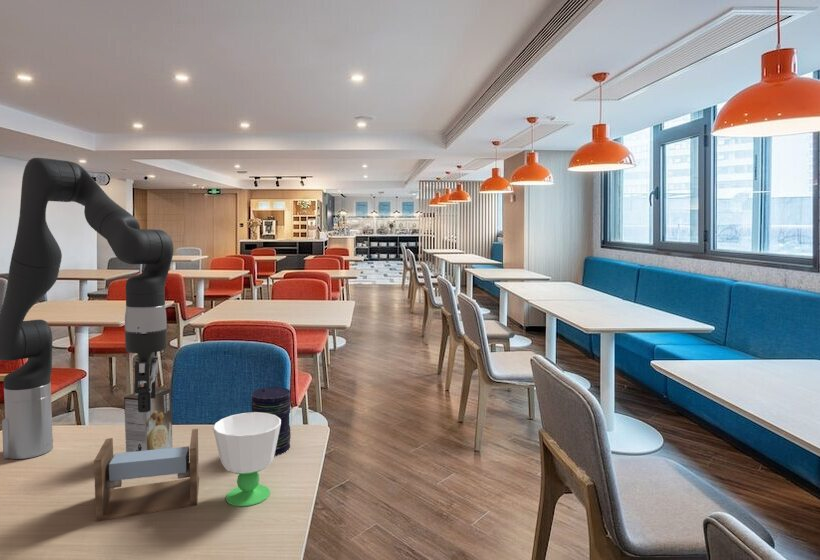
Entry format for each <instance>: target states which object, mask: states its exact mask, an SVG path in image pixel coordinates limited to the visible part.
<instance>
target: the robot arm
mask: <svg viewBox="0 0 820 560" xmlns="http://www.w3.org/2000/svg"><path fill="white" fill-rule="evenodd" d="M20 189H21V190H20V191H21V192H20V206H19V207H20V208H19V217H18V225H17V231H16V235H15V240H14V246H13V248H12V249H13V250H12V253H11V257H10V258H11V259H10V263H9V270H8V276H7V283H6V289H5V294H4V298H3V302H2V305H1V308H0V361H2V362H3V361H4V362H10V361H17V360H25V359H27V360H26V361H25V363H24V364H23V365H21V366H20V367H19V368H18V367H17V369H15V370H13V371H12V372H11V371H10V372H9V373H8V374H6V375H5V376H4V378H3V394H4V396H3V397H4V415H5V417H4V418H3V419H2V420H1V431H2V433H1V435H2V436H1V437H2V453H3V460H4V459H11V460H24V459H29V458H30V459H31V458H35V457H38V456H41V455H44V454H46V453H48V452H50V451H52V450H53V448H54V438H53V437H54V436H53V434H54V433H53V432H54V431H53V414H52V411H53V410H52V409H53V408H52V407H53V406H52V387H51V386H52V385H51V384H52V382H51V375H52V371H53V332H52V329H51V326H50V324H49V323H48V322H47V321H46V320H44V319H32V320H31V319H30V320H25V318H26V316H27V314H28V313H29V311H30V310H31V308H32V307H34V305H36V304H37V302H39V301H40V300H41V299H42V297H44V296H45V295H46V294H47V293H48V292H49V291H50V290H51V288H52V287H53V286H54V285H55V283H56V281H57V280H58V276H59V273H60V267H61V264H62V263H61V262H62V259H63V258H62V257H63V253H62V249H61V247H60V246H59V244H58V243H59V242H58V241H57V240H56V238H55V236H54V235H53V232H51V229H50V228H49V226H48V223H47V218H46V217H47V215H46V214H47V206H48V203H49V202H58V203H59V202H62V203H69V202H71V203H72V202H74V203H77V204H79V205H81V206H83V207H84V218H85V220H86V223H87V224H88V225H89V227H90V228H91V229H93V230H94V231H95V232H96V233H98V234H99V235H100V236H102V237H103V238H104V239H105V240H106V241H107V244H108V245H109V246H110V248H111V250H112V252H113V254H114V255H115V258H116V259H118V260H119V261H121V262H123V263H124V264H127V265H145V266H144V268H143V271H142V272H141V273H140V274H138V275H135V276H131V277H129V278H128V279H127V280H126V282H125V313H124V340H125V341H124V346H125V347H124V348H125V349H124V350H125V351H126V352H127V353H130V354H137V355H138V357H136V360H135V361H134V365H133V367H134V391H133V392H134V393H135V394H138V412H149V411H150V410H151V399H152V398H155V396H156V387H157V382H156V381H157V379H158V374H159V357H158V353H159V352H163V351H164V350H167V347H168V345H167V344H168V343H167V342H168V339H167V338H168V337H167V336H168V332H167V323H168V322H167V310H166V296H165V294H166V291H165V286H166V281H167V280H168V279H167V278H168V274H169V272H170V268H171V267H170V266H171V264H172V261H173V256H174V243H173V240H172V238H171V236H170V235H169V234H168V233H167V232H166V231H164V230H161V229H153V228H152V229H148V228H141V225H140V223H139V221H138V219H137V218H136V217H135V216H134V215H133V214H131V213H130V212H128V211H127V210H126V209H124V207H122V206H121V205H119V204H118V203H116V202H115V201H114V200H113V199H112V198H110V196H109V195H108V194H107V193H106V192H105V191H104V190H103V189H102V187H101V186H100V185H99V184H98V183H97V182H96V180H95V179H94V178H93V177H92V176H91V175H90V173H89V172H88V171H87V170H86V169H85V168H84V167H83V166H81V165H80V164H79V163H77V162H74V161H70V160H63V159H62V160H61V159H53V158H47V157H33V158H30V159H29V160H28V162H26V165H25V166H24V170H23V173H22V181H21V188H20ZM142 384H143V386H141V385H142Z"/></svg>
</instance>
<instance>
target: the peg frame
mask: <svg viewBox="0 0 820 560" xmlns="http://www.w3.org/2000/svg"><path fill="white" fill-rule="evenodd" d="M190 435H191V436H190V441H189V443H190V444H189V465H188V468H187V472H186V473H179V474H177V479H174V480H169V481H160V482H155V483H154V482H153V483H146V484H142V485H141V484H139V485H132V486H126V487H122V481H123V480H116V481H109V463H110V462H111V460H112V459H113V457H114V442H113V441H114V440H113V439H114V438H113V437H111V438H110V437H109V438H106V439H104V442H103V444H102V445H101V447H100V449H99V451H98V453H97V455H96V456H95V459H93V469H94V471H93V472H94V499H95V500H94V501H95V516H94V517H95V519H94V520H95V522H99V521H104V520H111V519H118V518H125V517H130V516H134V515H135V516H136V515H142V514H149V513H155V512H160V511H166V510H174V509H179V508H185V507H186V508H187V507H191V506H198V503H199V502H198V499H199V487H200V475H199V470H200V469H199V428H193V429H191V433H190Z"/></svg>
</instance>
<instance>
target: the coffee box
mask: <svg viewBox="0 0 820 560" xmlns="http://www.w3.org/2000/svg"><path fill="white" fill-rule="evenodd" d="M123 403H124V431H125V432H124V434H125V452H135V451H146V450H156V449H166V448H173V423H172V421H173V419H172V414H173V413H172V388H171V387H158V386H156V396H155V398H152V399H151V410H150V411H149V412H138V394H135V392H134V393H131V394H129V395H126V396H123Z"/></svg>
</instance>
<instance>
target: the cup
mask: <svg viewBox="0 0 820 560" xmlns="http://www.w3.org/2000/svg"><path fill="white" fill-rule="evenodd" d="M213 425H214V426H213V428H212V430H213V434H214V438H215V442H216V447H217V450H218V455H219V459H220V463H221V464H222V466H223V467H224V469H225V470H226V471H228V472H229V473H232V474H235V475H237V480H236V484H237V487H234V488H233V489H231V490H230V491H229V492H228V493H227V494H226V496H225V497H226V498H225V501H227V503H228V504H229V505H231V506H233V507H242V508H243V507H244V508H245V507H250V506H251V507H252V506H255V505H257V504H261V503H262V502H264V501H266V500H267V499H268V498H269V497H270V495H271V489H270V488H269V487H268V486H266V485H263V484H259V482H260V474H259V472H260V471H262V470H264V469H266V468H267V467H268V466H269V465H270V464H271V463H272V461H274V459H275V456H274V455H275V450H276V445H277V440H278V435H279V431H280V426H281V419H280V418H279V417H277V416H276V415H273V414H269V413H260V412H252V413H251V412H243V413H236V414H231V415H229V416H226V417H224V418H221V419H219V420H218V421H217V422H215V423H214V424H213Z"/></svg>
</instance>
